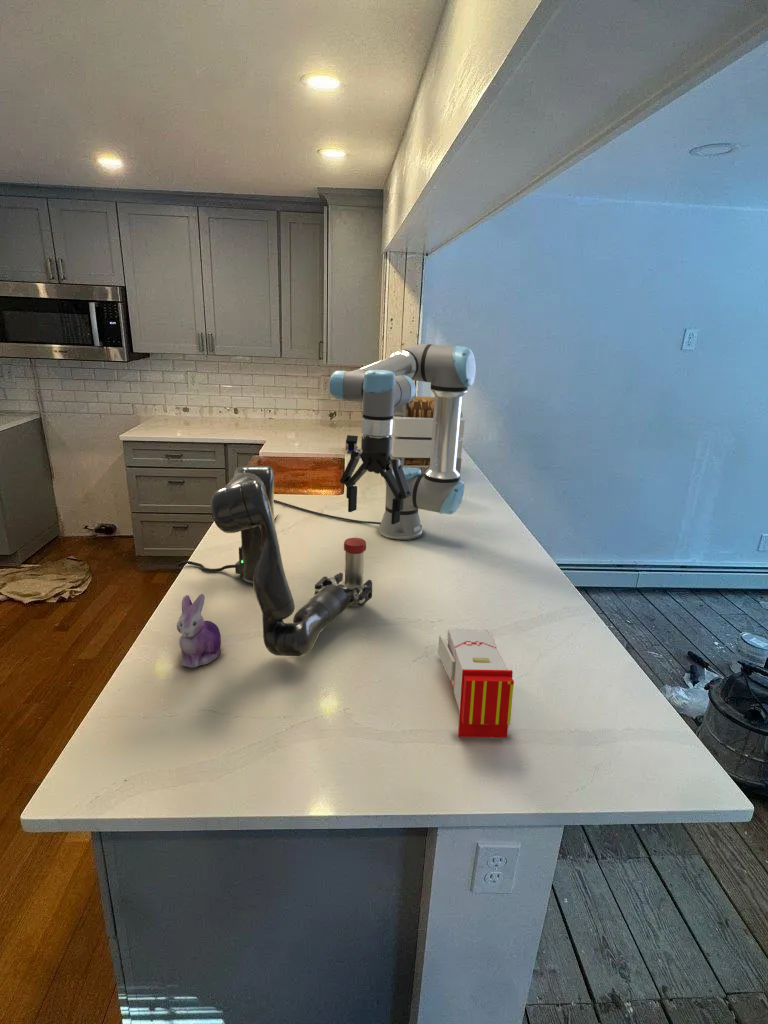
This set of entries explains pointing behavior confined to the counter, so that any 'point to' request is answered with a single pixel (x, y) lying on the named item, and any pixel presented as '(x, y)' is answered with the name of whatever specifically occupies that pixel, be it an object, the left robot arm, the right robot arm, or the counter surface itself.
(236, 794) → the counter surface
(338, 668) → the counter surface
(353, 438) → the figurine character
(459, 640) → the toy
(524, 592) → the counter surface
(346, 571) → the jar
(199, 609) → the figurine
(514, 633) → the counter surface
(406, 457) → the white wooden crate
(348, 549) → the lid
